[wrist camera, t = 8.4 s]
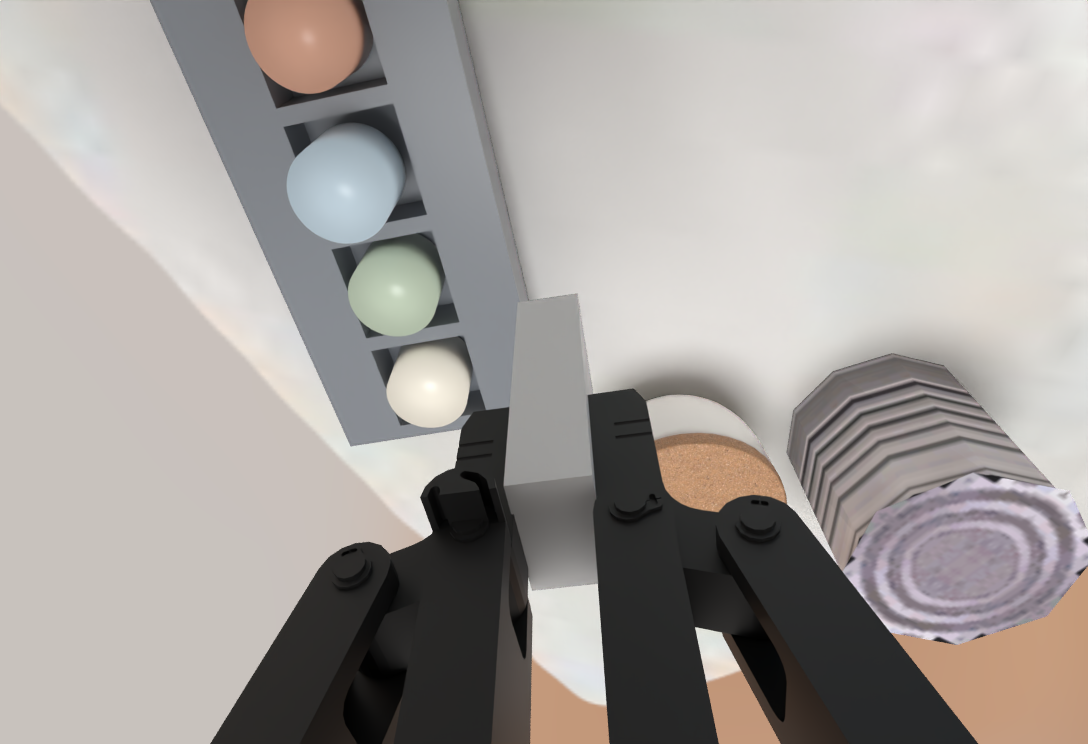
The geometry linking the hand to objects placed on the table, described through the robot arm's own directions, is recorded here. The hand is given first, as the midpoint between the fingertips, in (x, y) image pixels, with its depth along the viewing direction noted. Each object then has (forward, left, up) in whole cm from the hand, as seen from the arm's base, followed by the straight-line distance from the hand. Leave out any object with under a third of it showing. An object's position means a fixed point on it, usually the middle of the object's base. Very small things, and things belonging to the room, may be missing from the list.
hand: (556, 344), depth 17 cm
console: (+2, -9, -20) cm, 22 cm away
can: (+22, +17, -20) cm, 34 cm away
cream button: (+11, -9, -19) cm, 24 cm away
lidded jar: (+20, +4, -20) cm, 29 cm away
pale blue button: (-1, -9, -17) cm, 19 cm away
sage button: (+5, -9, -19) cm, 21 cm away
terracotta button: (-7, -9, -19) cm, 22 cm away
